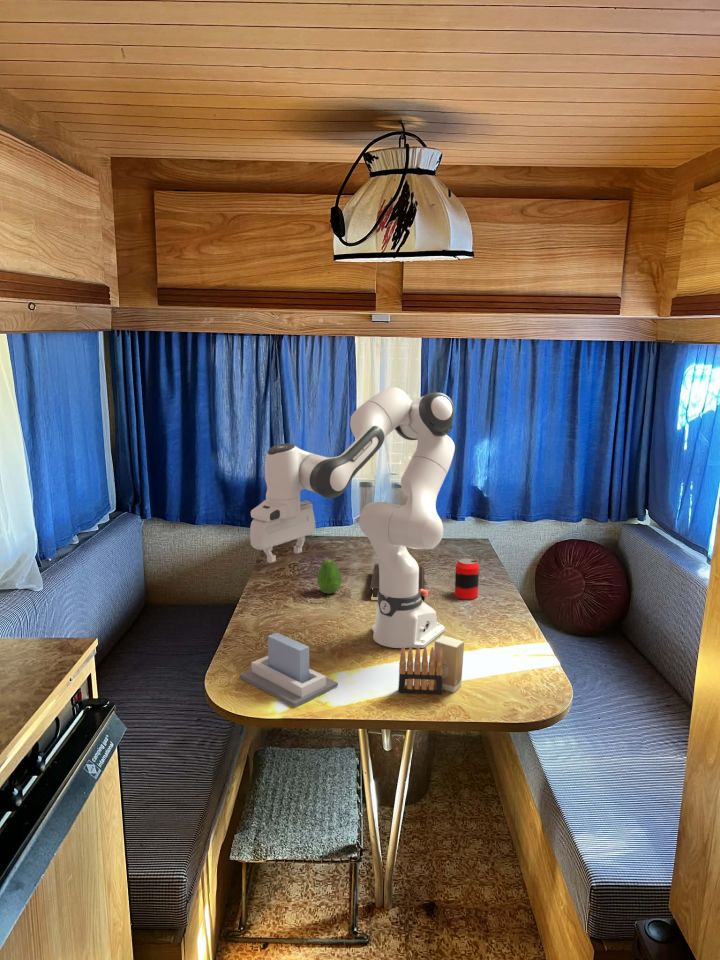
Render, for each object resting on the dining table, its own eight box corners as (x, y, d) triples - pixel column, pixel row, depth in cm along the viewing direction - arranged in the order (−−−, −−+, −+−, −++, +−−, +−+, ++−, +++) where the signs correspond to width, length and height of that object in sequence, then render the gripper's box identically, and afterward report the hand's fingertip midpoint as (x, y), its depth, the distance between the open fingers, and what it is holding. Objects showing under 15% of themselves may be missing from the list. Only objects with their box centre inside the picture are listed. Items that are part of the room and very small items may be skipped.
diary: (424, 578, 258) (424, 564, 257) (424, 604, 234) (425, 590, 233) (371, 575, 260) (372, 562, 259) (367, 601, 235) (367, 586, 234)
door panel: (277, 668, 186) (276, 632, 184) (309, 684, 178) (309, 646, 176) (268, 672, 184) (267, 636, 182) (300, 688, 176) (299, 650, 174)
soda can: (479, 600, 236) (481, 565, 234) (456, 600, 236) (457, 565, 234) (475, 591, 244) (477, 557, 241) (453, 591, 243) (454, 557, 241)
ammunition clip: (441, 691, 177) (443, 645, 175) (442, 695, 176) (443, 649, 173) (398, 689, 178) (399, 644, 176) (398, 693, 176) (399, 647, 174)
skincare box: (431, 686, 180) (433, 640, 177) (439, 679, 183) (441, 634, 181) (454, 693, 176) (456, 647, 174) (462, 686, 180) (464, 640, 177)
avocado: (314, 596, 238) (314, 561, 236) (322, 587, 246) (322, 554, 243) (337, 598, 236) (337, 563, 234) (344, 590, 244) (344, 556, 241)
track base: (281, 659, 193) (281, 647, 193) (337, 686, 179) (337, 673, 179) (239, 677, 183) (239, 665, 183) (295, 707, 169) (295, 694, 169)
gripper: (303, 496, 198) (304, 545, 201) (245, 512, 183) (247, 564, 186) (320, 500, 193) (321, 550, 197) (261, 517, 179) (264, 570, 182)
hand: (285, 557), depth 191 cm, fingers open, 8 cm apart
